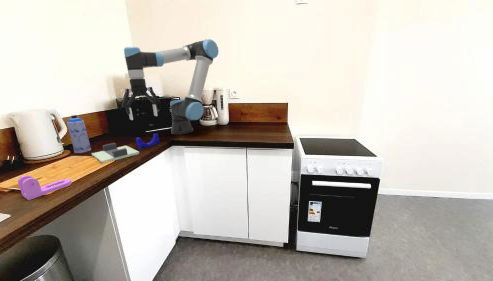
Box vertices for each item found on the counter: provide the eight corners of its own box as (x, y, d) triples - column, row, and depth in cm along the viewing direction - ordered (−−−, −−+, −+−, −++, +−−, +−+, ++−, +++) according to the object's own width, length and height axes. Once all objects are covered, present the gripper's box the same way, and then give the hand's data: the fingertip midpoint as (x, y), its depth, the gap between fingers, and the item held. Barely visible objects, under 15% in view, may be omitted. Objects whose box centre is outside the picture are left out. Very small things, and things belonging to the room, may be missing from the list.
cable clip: (141, 149, 121) (139, 139, 119) (137, 148, 124) (135, 138, 122) (160, 144, 130) (159, 134, 128) (157, 142, 133) (155, 133, 131)
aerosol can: (93, 147, 127) (84, 113, 122) (88, 151, 120) (79, 115, 114) (77, 149, 125) (67, 115, 119) (72, 153, 117) (61, 117, 112)
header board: (126, 147, 125) (125, 140, 124) (139, 153, 113) (137, 146, 112) (92, 155, 113) (90, 148, 112) (102, 163, 101) (100, 155, 100)
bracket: (28, 200, 71) (21, 181, 69) (22, 196, 74) (16, 178, 72) (74, 184, 82) (69, 167, 80) (68, 181, 85) (63, 164, 83)
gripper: (156, 77, 127) (162, 113, 133) (108, 79, 109) (117, 121, 115) (162, 77, 122) (168, 114, 128) (113, 79, 104) (122, 122, 111)
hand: (144, 117), depth 122 cm, fingers open, 13 cm apart
